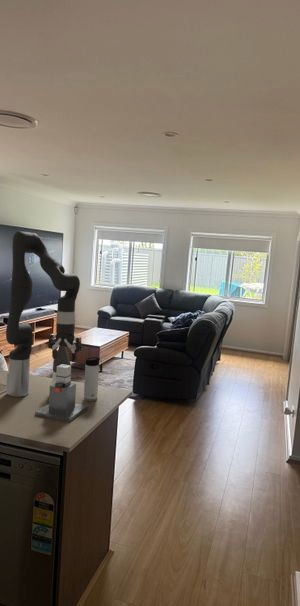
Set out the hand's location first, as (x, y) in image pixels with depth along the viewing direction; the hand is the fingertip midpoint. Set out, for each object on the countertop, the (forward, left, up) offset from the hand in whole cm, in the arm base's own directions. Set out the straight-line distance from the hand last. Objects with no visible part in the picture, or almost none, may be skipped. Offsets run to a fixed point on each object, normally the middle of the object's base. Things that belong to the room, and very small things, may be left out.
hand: (64, 360), depth 173 cm
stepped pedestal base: (0, 0, -23) cm, 23 cm away
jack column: (0, 0, -21) cm, 21 cm away
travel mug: (+4, +20, -23) cm, 31 cm away
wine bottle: (-13, +22, -23) cm, 34 cm away
